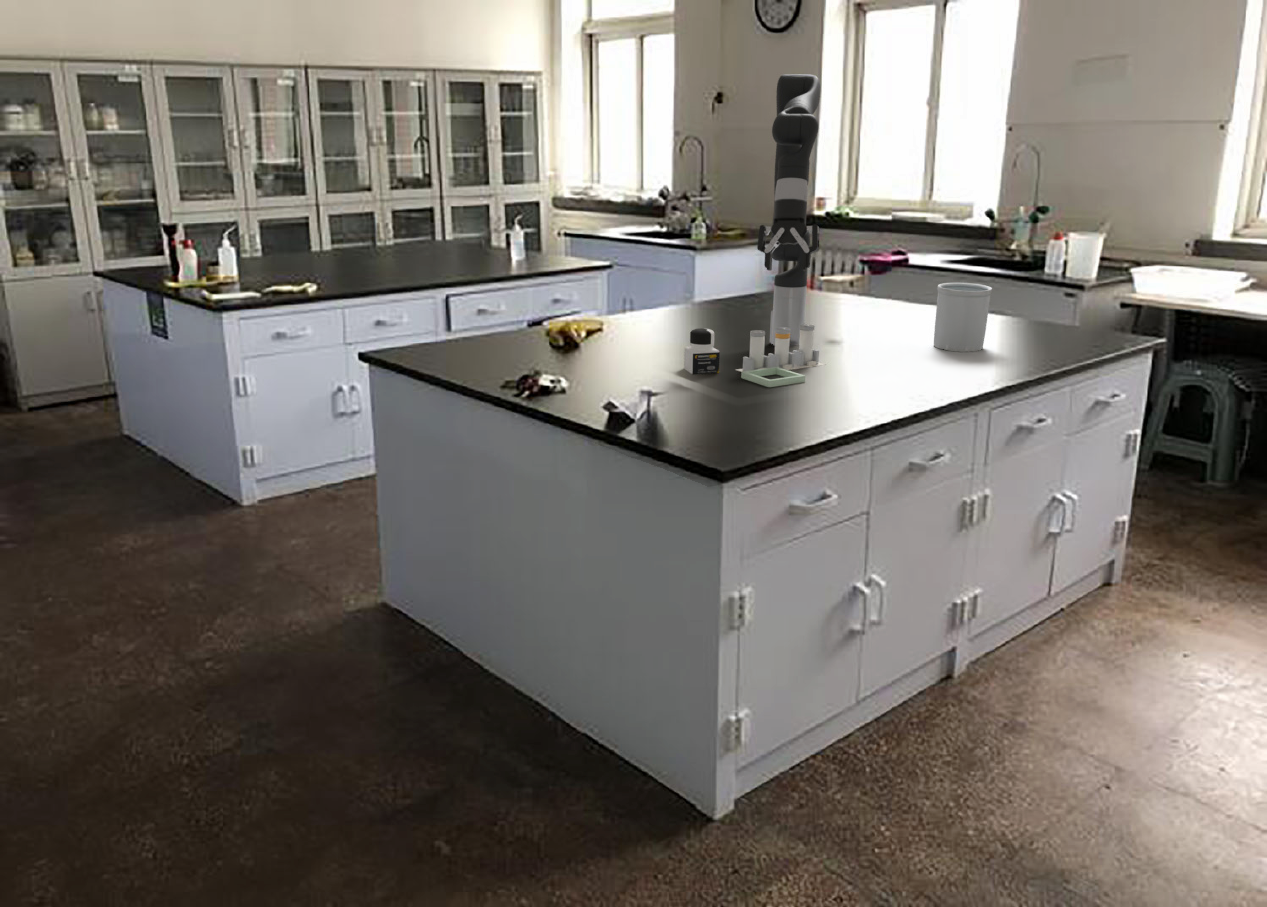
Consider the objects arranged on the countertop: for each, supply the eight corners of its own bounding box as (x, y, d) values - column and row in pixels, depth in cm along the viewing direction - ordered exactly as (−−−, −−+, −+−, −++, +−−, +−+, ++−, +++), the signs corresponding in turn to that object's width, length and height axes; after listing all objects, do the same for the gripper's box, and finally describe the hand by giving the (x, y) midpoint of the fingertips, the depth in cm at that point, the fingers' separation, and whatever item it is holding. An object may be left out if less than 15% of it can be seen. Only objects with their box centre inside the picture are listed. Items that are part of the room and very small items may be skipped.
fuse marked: (770, 366, 268) (772, 328, 265) (782, 364, 270) (784, 326, 267) (779, 369, 265) (781, 330, 262) (791, 367, 267) (793, 329, 264)
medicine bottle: (692, 380, 260) (693, 332, 256) (683, 374, 266) (684, 327, 263) (719, 378, 262) (720, 331, 258) (709, 372, 268) (711, 326, 264)
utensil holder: (996, 350, 295) (1003, 289, 290) (951, 354, 291) (957, 291, 286) (965, 340, 309) (971, 281, 303) (921, 343, 304) (927, 283, 299)
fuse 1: (745, 369, 264) (747, 330, 261) (757, 368, 266) (759, 329, 263) (754, 372, 261) (756, 333, 258) (766, 371, 263) (768, 332, 260)
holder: (734, 375, 265) (735, 356, 263) (808, 364, 277) (809, 346, 275) (751, 380, 259) (752, 361, 258) (825, 370, 271) (826, 351, 269)
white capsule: (795, 363, 272) (797, 325, 269) (806, 361, 274) (808, 323, 271) (804, 365, 269) (806, 327, 266) (815, 364, 271) (817, 326, 268)
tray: (741, 383, 256) (741, 371, 256) (776, 378, 262) (776, 366, 261) (768, 393, 247) (769, 380, 247) (804, 387, 253) (805, 375, 252)
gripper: (824, 203, 245) (820, 272, 245) (765, 204, 250) (761, 272, 250) (818, 196, 238) (813, 268, 238) (757, 198, 243) (753, 267, 243)
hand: (786, 270), depth 244 cm, fingers open, 8 cm apart
